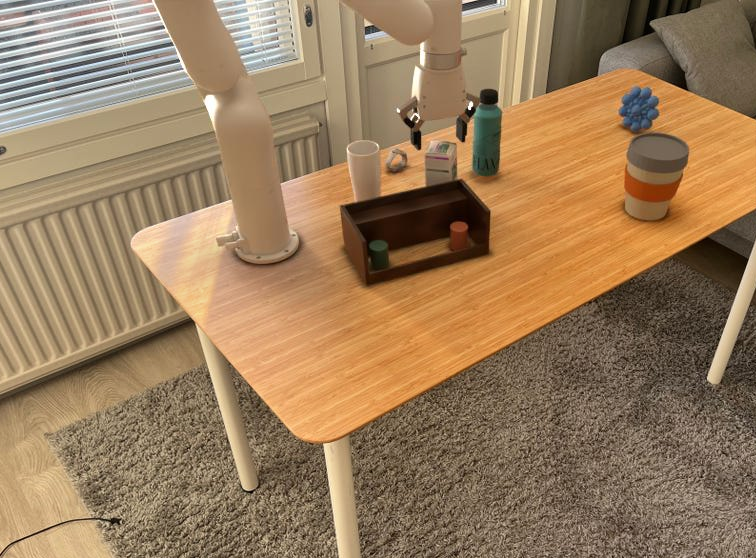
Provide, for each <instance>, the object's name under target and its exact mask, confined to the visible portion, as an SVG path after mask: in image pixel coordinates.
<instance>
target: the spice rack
mask: <svg viewBox="0 0 756 558" xmlns="http://www.w3.org/2000/svg"><path fill="white" fill-rule="evenodd" d="M339 212H340V213H339V214H340V221H341V229H342V237H343V245H344V250H345V251H346V253H347V255H348V257H349V258H350V260H351V263H352V264H353V265H354V267H355V269H356V270H357V272H358V274H359V275H360V278H361V279H362V281H363V282H364V284H365V286H371V285H375V284H378V283H382V282H385V281H389V280H394V279H396V278H397V279H398V278H400V277H406V276H408V275H412V274H417V273H419V272H423V271H428V270H431V269H435V268H439V267H443V266H446V265H447V266H448V265H450V264H455V263H458V262H462V261H466V260H470V259H475V258H478V257H481V256H485V255H488V254H490V233H491V215H492V214H491V213H492V211H491V210H490V208H489V207H488V206H487V205H486V203H484V202H483V200H482V199H481V198H480V197H479V195H477V193H475V191H474V190H473V189H472V187H470V186H469V184H468V183H467V182H466V181H465V180H464V179H463V178H457V180H453V181H448V182H444V183H439V184H435V185H430V186H426V185H425V186H422V187H416V188H413V189H408V190H403V191H399V192H394V193H390V194H384V195H381V196H380V197H376V198H371V199H367V200H362V201H358V202H355V201H353V202H350V203H345V204H344V203H343V204H340V205H339ZM454 222H464V223H466V224H467V225H468V236H469V237H471V239H472V240H473V241H474V242H475V244H476V245H472V246H468V247H467V248H464V249H460V250H456V251H454V250H452V251H449V252H443V253H441V254H436V255H433V256H428V257H425V258H421V259H417V260H413V261H410V262H409V261H408V262H405V263H401V264H397V265H394V266H389V268H385V269H382V270H378V271H374V270H373V271H371V272H370V267H369V258H368V257H370V251H369V244H370V243H371V242H373V241H376V240H382V241H385V242H386V243H387V244H388V252H389V251H394V250H399V249H401V248H407V247H410V246H414V245H419V244H422V243H426V242H431V241H434V240H438V239H443V238H446V237H447V238H448V237H450V225H451V224H452V223H454Z"/></svg>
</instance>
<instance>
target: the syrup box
mask: <svg viewBox="0 0 756 558" xmlns="http://www.w3.org/2000/svg"><path fill="white" fill-rule="evenodd" d="M423 157H424V158H423V159H424V179H425V180H424V183H425V184H424V185H425V187H426V186H430V185H435V184H439V183H444V182H448V181H453V180H457V179H458V143H457V142H453V141H448V140H447V141H446V140H430V142H429V144H428V145H427V147H426V149H425V151H424V154H423Z"/></svg>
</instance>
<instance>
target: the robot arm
mask: <svg viewBox="0 0 756 558" xmlns="http://www.w3.org/2000/svg"><path fill="white" fill-rule="evenodd" d="M336 1H337V2H338V3H340V4H342V5H343V6H344V7H346V8H348V9H350V10H351V11H353V12H354V13H356V14H357V15H358V16H359V17H361V18H362V19H364V20H366V21H367V22H368V23H370V24H371V25H372V26H374V27H376V28H378V30H380V31H382V32H383V33H385V34H386V35H387V36H389V37H391V38H392V39H394V40H396V41H397V42H399V43H400V44H402V45H405V46H411V47H413V46H419V62H417V63H415V67H414V71H413V78H412V87H411V98H410V99H409V100H407V101H406V102H405V103H403V104H402V105H400V106H398V108H397V109H396V112H397V114H398V115H399V117H400V119H401V121H402V122H403V123H404V125H405V126H407V127H408V128H409V132H410V144H411V145H412V146H413V147H414V148H415V149H416V150H417V151H421V150H422V131H421V130H420V129H421V127H422V126H423V125H424V124H425V122H432V121H437V120H444V119H449V118H450V119H451V118H455V117H456V124H455V137H456V138H457V139H458V140H459V141H460V142H461V143H466V137H467V135H468V124H469V123H471V119H472V118H473V117H474V114H475V112H476V108H477V107H478V106H479V105H480V104H481V103H480V101H481V99H480V98H479V97H480V96H478V95H476V94H474V93H472V92H469V91H467V84H466V83H467V82H466V73H465V69H464V64H463V63H462V58H463V57H464V56H467V55H468V50H467V48H466V47H462V46H461V45H462V25H463V24H462V21H463V0H336ZM152 2H153V5H154V8H155V9H156V11H157V13H158V15H159V17H160V19H161V22H162V23H163V26H164V27H165V30H166V32H167V34H168V36H169V38H170V40H171V42H172V44H173V46H174V48H175V50H176V52H177V56H178V58H179V60H180V63H181V66H182V68H183V69H184V71H185V73H186V74H187V76H188V77H189V79H190V80H192V82H193V85H194V86H195V88H196V90H197V91H198V94H199V96H200V98H201V99H202V101H203V103H204V105H205V108H206V109H207V112H208V115H209V118H210V122H211V123H212V127H213V130H214V133H215V137H216V141H217V144H218V149H219V153H220V154H219V155H220V159H221V163H222V166H223V167H222V168H223V171H224V175H225V180H226V183H227V187H228V190H229V194H230V199H231V203H232V207H233V211H234V215H235V219H236V224H237V225H235V226H234V227H235V230H234V231H231V233H229V234H223V235H218V236H215V241H216V243H217V246H218V247H222V246H224V247H225V250H226V251H230V250H235V253H236V255H237V256H238V257H239V258H240V259H241V260H243V261H244V262H247V263H251V264H258V265H268V264H274V263H278V262H281V261H284V260H285V259H288V258H290V257H291V256H293V254H294V253H296V251H297V250H298V249H299V245H300V239H299V235H298V233H297V232H296V231H295V230H294V229H292V228H290V227H289V222H288V216H287V210H286V205H285V199H284V195H283V189H282V184H281V179H280V174H279V169H278V162H277V157H276V151H275V141H274V130H273V125H272V121H271V118H270V115H269V113H268V110H267V108H266V105H264V103H263V100H262V98H261V97H260V95H259V93H258V92H257V91H258V90H257V89H256V87H255V85H254V84H253V81H252V79H251V77H250V75H249V73H248V70H247V68H246V66H245V64H244V61H243V60H242V58H241V55H240V52H239V49H238V47H237V44H236V41H235V40H234V38H233V36H232V34H231V32H230V31H229V29H228V27H226V25H225V24H224V22H223V20H222V17H221V16H220V14H219V11H218V9H217V5H216V3H215V2H214V0H152ZM467 101H469V105H468V106H467ZM411 111H412V113H414V114H413V115H412V116H411V117H409V116H408V113H409V112H411Z"/></svg>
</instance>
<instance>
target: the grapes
mask: <svg viewBox="0 0 756 558" xmlns="http://www.w3.org/2000/svg"><path fill="white" fill-rule="evenodd" d="M659 103H660V99H659V97H658V96H657V95H653V91H652V89H651V88H650V87H648V86H646V87H643V88H640V86H634V87H632V88H631V89H630V91H629V93H626V94H624V95H623V96H622V97H621V104H622V105H621V106H620V107H619V109H618V115H619V116H620V117H622V118H623V119H622V126H623V127H624V128H630V129H631V132H633V133H640V132H641V131H642V130H644V131H647V130H650V129H651V128H652V126H653V121H655V120H657V119H658V118H659V116H660V110H659V109H658V108H657V106H659Z"/></svg>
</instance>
